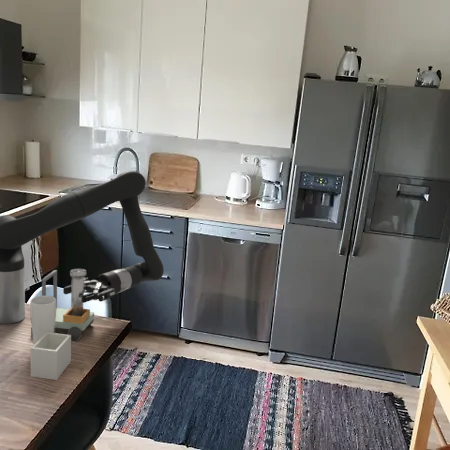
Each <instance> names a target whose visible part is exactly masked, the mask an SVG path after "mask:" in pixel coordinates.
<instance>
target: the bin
mask: <svg viewBox="0 0 450 450" xmlns="http://www.w3.org/2000/svg"><path fill="white" fill-rule="evenodd" d="M71 361H72V340H71V335H67V334H64V333H57V332H55V333H49V332H47V333H45V334H44V335H43V336H42V337H41V338H40V339H39V340H38V341H37V342H36V343H35V344H34V345H33V344H32V346H31V347H30V377H34V378H39V379H40V378H41V379H46V380H47V379H50V380H58V379H59V377H60V376H61V375H62V374H63V373H64V371H65V370H66V368H67V367H68V366H69V365H70V364H71V363H72V362H71Z"/></svg>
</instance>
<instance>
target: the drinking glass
mask: <svg viewBox="0 0 450 450" xmlns="http://www.w3.org/2000/svg"><path fill="white" fill-rule="evenodd" d="M29 304H30V306H29V307H30V309H29V310H30V312H29V313H30V323H31V327H32V334H33V336H32V342H33V343H32V346H33V345H34V344H35V343H36V342H37V341H38V340H39V339H40V338H41V337H42V336H43V335H44V334H45V333H47V332H49V333H54V330H55V328H56V327H55V320H56V299H55V298H54V297H53V295H52V296H51V295H46V296H42V295H40V296H35V297H32V299H30V303H29Z"/></svg>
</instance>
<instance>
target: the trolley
mask: <svg viewBox="0 0 450 450" xmlns="http://www.w3.org/2000/svg"><path fill="white" fill-rule="evenodd" d="M51 278H53V280H52V281H53V283H52V284H53V288H52V289H53V290H52V291H53V293H52V294H53V295H52V297H54V298H55V299H56V320H55V330H54V333H57V329H58V328H59V329H67V331H66V332H67V333H66V335H71V342H76V341H78V340H79V339H80V338H81V337H82V335H83V334H82V332H84V330H86V329H87V327H89V326H91V325H92V324H93V322H94V321H95V312H94V311H91V310H90V309H88V308H83V315H82V316H73V315H71V307H69V308H61V307H60V308H59V307H58V270H57V269H54V270H52V271H51V272H50V273H48V274H47V275H46V276H44V277H43V278H42V279H41V296H47V283H46V282H47V281H49V279H51ZM56 328H57V329H56Z"/></svg>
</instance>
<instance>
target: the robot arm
mask: <svg viewBox="0 0 450 450" xmlns="http://www.w3.org/2000/svg"><path fill="white" fill-rule="evenodd" d="M146 182H147V181H146V178H145V176H143V174H142V173H140V172H139V171H136V170H127V171H124V172H122V173H120V174H118V175H117V176H115V177H114V178H112V179H110V180H108V181H106V182H103V183H100V184H96V185H92V186H88V187H84V188H81V189H78V190H74V191H72V192H69V193H67V194H64V195H61V196H59V197H58V198H55V199H53V200H52V201H51V202H49V203H48V204H47V205H45V206H44V207H42V209H40V210H38V211H36V212H34V213H32V214H29V215H26V216H22V217H19V218H16V217H14V216H12V215H8V214H3V215H0V324H1V325H3V324H4V325H9V324H10V325H11V324H16V323H18V322H21V321H23V320H24V319H25V318H26V294H25V293H26V291H25V290H26V288H25V286H26V284H25V281H26V280H25V276H26V274H25V273H26V272H25V258H24V254H23V253H24V252H23V248H22V247H23V246H24V245H26V244H28V243H30V242H31V241H34V240H35V239H37V238H39V237H41V236H43V235H45V234H47V233H49V232H52V231H55V230H57V229H59V228H63V227H65V226H67V225H70V224H74V223H77V221H80V220H82V219H85V218H87V217H89V216H91V215H93V214H96V213H97V212H99V211H101V210H103V209H105V208H106V207H108V206H110V205H112V204H114V203H117V202H119V203H120V204H119V205H120V206H121V208H122V211H123V214H124V217H125V220H126V222H127V227H128V231H129V235H130V238H131V242H132V246H133V251H134V254H135V255H136V256H137V257H141V258H142V259H143V260H144V261H142V262H138V263H135V264H133V265H131V266H128V267H127V266H126V267H124V268H119V269H114V270H110V271H107V272H104V273H101V274H99V275H98V276H96V279H92V280H89V277H84V288H85V289H84V295H82V300H81V301H82V302H83V304H84V303H87V302H92V301H98V302H104V301H106V300H109V299H111V298H114V297H115V295H117V294H119V293H122V292H124V291H126V290H129V289H131V288H134V287H137V286H139V285H140V284H142V283H143V282H152V281H153V282H155V281H159V280H161V278H162V277H163V275H164V272H165V269H164V264H163V261H162V259H161V258H160V256H159V254H158V252H157V250H156V249H155V247H154V242H153V238H152V234H151V230H150V228H149V225H148V222H147V221H146V219H145V216H144V215H143V213H142V210H141V208H140V203H139V196H140V195H141V194H142V193H143V192H144V190H145V187H146ZM71 287H72V280H71V283H70V285H67V286H65V287H63V294H64V295H68V294H69V295H70V294H71Z"/></svg>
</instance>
